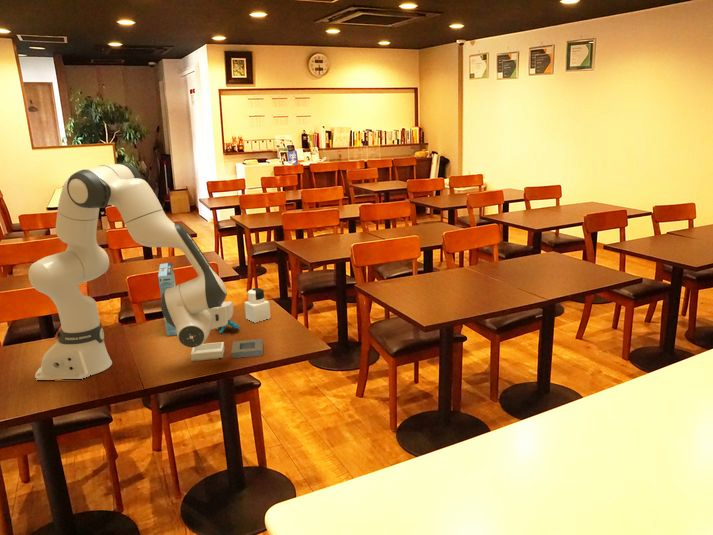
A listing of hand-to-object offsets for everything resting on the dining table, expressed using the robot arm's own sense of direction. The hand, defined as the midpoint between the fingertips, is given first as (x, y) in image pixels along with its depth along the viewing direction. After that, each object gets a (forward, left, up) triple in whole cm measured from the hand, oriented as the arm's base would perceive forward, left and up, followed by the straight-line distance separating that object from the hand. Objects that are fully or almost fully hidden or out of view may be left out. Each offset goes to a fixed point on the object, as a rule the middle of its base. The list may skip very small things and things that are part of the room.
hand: (202, 304), depth 192 cm
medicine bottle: (+16, +30, -18) cm, 38 cm away
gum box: (-16, +30, -18) cm, 39 cm away
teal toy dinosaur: (+5, +21, -18) cm, 28 cm away
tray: (0, -1, -18) cm, 18 cm away
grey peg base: (+13, -1, -18) cm, 22 cm away
